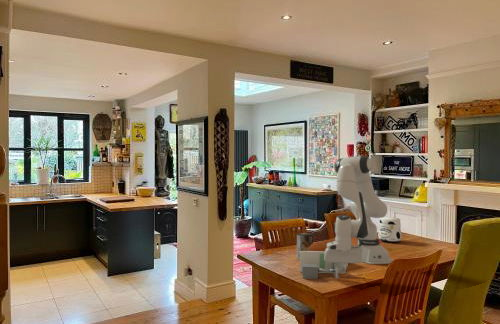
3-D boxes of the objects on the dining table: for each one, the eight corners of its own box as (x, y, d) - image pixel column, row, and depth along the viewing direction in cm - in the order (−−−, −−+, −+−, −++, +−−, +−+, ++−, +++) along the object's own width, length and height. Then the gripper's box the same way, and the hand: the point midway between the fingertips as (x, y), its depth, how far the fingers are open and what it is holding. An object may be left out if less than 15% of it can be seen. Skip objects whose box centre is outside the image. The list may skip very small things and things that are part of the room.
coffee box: (309, 256, 246) (309, 232, 246) (313, 259, 240) (313, 234, 239) (296, 257, 243) (296, 233, 243) (300, 260, 237) (300, 235, 237)
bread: (331, 258, 242) (331, 236, 241) (348, 263, 232) (348, 239, 232) (306, 266, 225) (306, 241, 225) (322, 271, 216) (323, 245, 216)
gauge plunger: (334, 272, 210) (334, 254, 210) (338, 279, 199) (338, 260, 198) (314, 271, 211) (314, 253, 211) (316, 278, 199) (316, 259, 199)
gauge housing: (344, 273, 212) (345, 252, 211) (348, 279, 200) (349, 257, 199) (299, 271, 213) (299, 250, 213) (300, 278, 201) (301, 256, 201)
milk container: (378, 242, 288) (378, 219, 288) (377, 238, 305) (378, 216, 305) (402, 244, 283) (402, 220, 283) (400, 239, 300) (400, 217, 300)
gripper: (361, 244, 204) (361, 269, 204) (323, 243, 206) (323, 268, 206) (364, 247, 198) (363, 273, 198) (325, 246, 199) (325, 271, 200)
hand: (342, 270), depth 202 cm, fingers closed
